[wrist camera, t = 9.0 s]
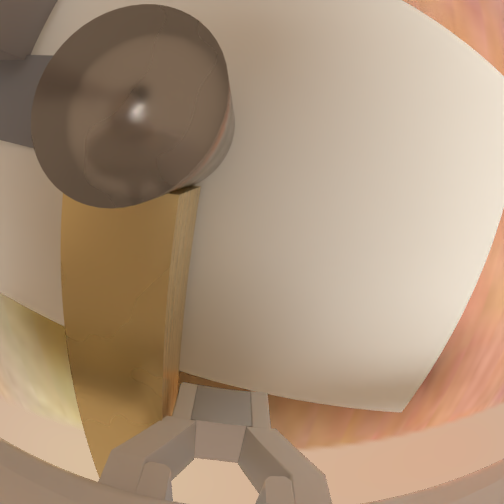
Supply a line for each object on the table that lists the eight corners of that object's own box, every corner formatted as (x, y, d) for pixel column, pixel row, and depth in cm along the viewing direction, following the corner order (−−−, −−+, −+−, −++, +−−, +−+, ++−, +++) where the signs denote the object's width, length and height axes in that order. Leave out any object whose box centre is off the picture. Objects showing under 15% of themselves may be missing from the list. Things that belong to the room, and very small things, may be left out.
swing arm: (123, 64, 7) (60, 14, 3) (246, 74, 7) (248, 8, 4) (107, 424, 10) (80, 488, 7) (190, 443, 11) (179, 516, 7)
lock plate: (-55, 240, 9) (-111, 263, 5) (28, -35, 6) (-15, -67, 2) (392, 396, 12) (429, 462, 8) (506, 98, 9) (575, 91, 4)
